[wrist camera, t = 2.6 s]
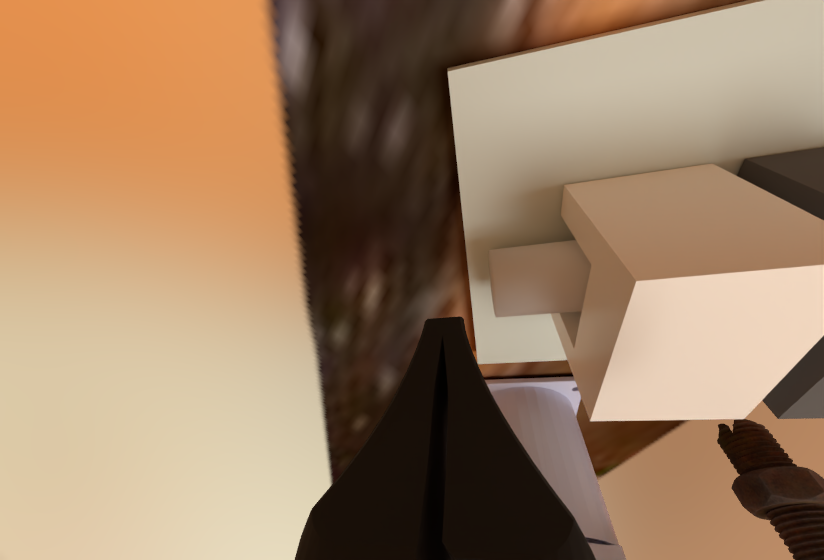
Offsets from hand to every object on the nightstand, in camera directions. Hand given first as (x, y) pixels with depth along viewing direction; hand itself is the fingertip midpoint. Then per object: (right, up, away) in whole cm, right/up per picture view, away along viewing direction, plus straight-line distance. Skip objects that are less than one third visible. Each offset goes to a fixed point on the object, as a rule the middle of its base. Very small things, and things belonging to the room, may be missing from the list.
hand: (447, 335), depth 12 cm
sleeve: (+8, +3, +2) cm, 9 cm away
